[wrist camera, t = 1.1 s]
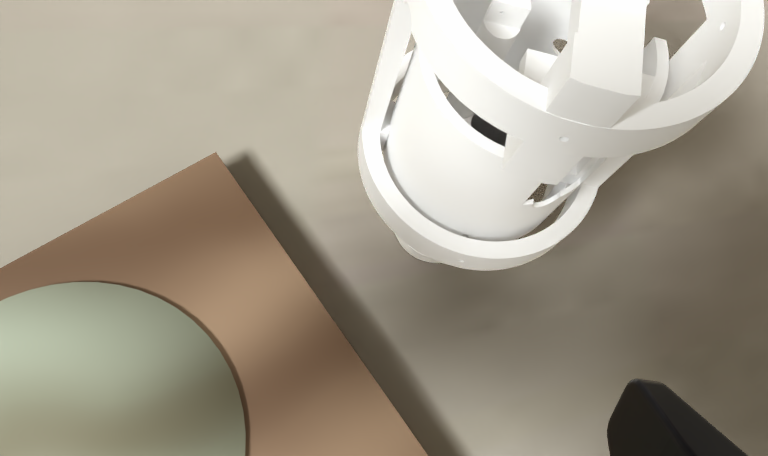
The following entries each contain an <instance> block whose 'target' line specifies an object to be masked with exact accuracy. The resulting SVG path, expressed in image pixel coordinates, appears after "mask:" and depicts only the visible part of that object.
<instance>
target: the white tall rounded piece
mask: <svg viewBox="0 0 768 456" xmlns="http://www.w3.org/2000/svg"><path fill="white" fill-rule="evenodd" d="M649 2H650V0H394V2H393V6H392V10H391V14H390V17H389V21H388V25H387V29H386V33H385V37H384V40H383V44H382V48H381V52H380V56H379V60H378V63H377V67H376V71H375V75H374V79H373V83H372V86H371V90H370V94H369V98H368V102H367V106H366V109H365V113H364V117H363V121H362V125H361V129H360V133H359V139H358V163H359V170H360V175H361V178H362V182H363V185H364V188H365V190H366V193H367V195H368V197H369V199H370V201H371V203H372V205H373V207H374V208H375V210H376V211H377V213H378V214H379V216H380V217H381V218H382V220H383V221H384V222H385V223H386V225H387V226H388V227H389V228H390V229H391V230H392V231H393V232H394V233H395V235H396V237H397V239H398V241H399V243H400V244H401V245H402V247H403V248H404V249H405V250H406V251H407V252H408V253H409V254H411V255H412V256H414V257H416V258H418V259H420V260H422V261H426V262H430V263H444V264H447V265H451V266H454V267H458V268H463V269H470V270H482V271H490V270H502V269H508V268H512V267H516V266H520V265H523V264H525V263H528V262H530V261H533V260H535V259H537V258H538V257H540V256H542V255H543V254H545V253H547V252H548V251H549V250H551V249H552V248H553V247H554V246H555V245H557V244H558V243H559V242H560V241H561V240H562V239H564V238H565V237H566V236H567V235H568V234H569V233H571V232H572V231H573V230H574V229H575V228H576V227H577V226H578V225H579V223H580V222H581V221H582V220H583V218H584V217H585V216H586V214H587V212H588V211H589V209H590V207H591V205H592V203H593V201H594V199H595V196H596V193H597V190H598V187H599V186H600V185H601V184H602V183H604V182H605V181H606V180H607V179H608V178H609V177H610V176H611V175H612V174H613V173H614V172H615V171H617V170H618V169H619V168H620V167H621V166H622V165H623V164H624V163H625V162H626V161H627V160H628V159H630V158H631V157H632V156H633V155H635V154H639V153H643V152H647V151H650V150H653V149H656V148H659V147H661V146H664V145H666V144H668V143H670V142H672V141H674V140H676V139H677V138H679V137H681V136H682V135H684V134H685V133H687V132H688V131H689V130H690V129H692V128H693V127H694V126H695V125H696V124H698V123H699V122H700V121H701V120H702V119H703V118H705V117H706V116H707V115H708V114H709V113H710V112H712V111H713V110H714V109H715V108H716V107H717V106H719V105H720V104H721V103H722V102H723V101H724V100H726V99H727V98H728V97H729V96H730V95H731V94H732V93H733V92H734V91H735V90H736V89H737V88H738V87H739V86H740V85H741V83H742V82H743V81H744V79H745V78H746V76H747V75H748V73H749V72H750V70H751V68H752V66H753V64H754V62H755V60H756V58H757V55H758V52H759V49H760V46H761V42H762V37H763V31H764V1H763V0H702V3H703V6H704V9H705V13H706V18H707V20H706V21H705V22H704V23H703V24H702V25H701V26H700V27H699V28H698V30H697V31H696V32H695V33H694V34H693V35H692V36H691V37H690V38H689V39H688V40H687V41H686V42H685V44H684V45H683V46H682V47H681V48H680V49H679V50H678V51H677V52H676V53H675V54H674V55H673V56H672V58H671V59H670V60H669V53H668V46H667V41H666V40H664V39H660V38H657V37H654V38H653V39H652V40H651V41H650V42H649V43H648V45H647V46H646V47H645V48H644V37H645V21H646V6H647V5H648V4H649ZM411 32H412V34H413V37H414V39H415V41H416V43H415V46H414V49H413V51H411V52H409V53H407V54H406V55H404V54H405V51H406V48H407V45H408V42H409V39H410V35H411ZM556 39H563V40H565V41H567V44H566V46H565V47H564V49H563V50H562V52H561V53H560V52H559V51H558V50H557V49H556V48H555V46H554V44H553V41H554V40H556ZM445 92H450V93H449V95H448V97H447V99H446V97H445V95H444V94H443V93H445ZM397 96H398V97H397ZM396 97H397V100H396V103H395V102H394V101H393V100H394V99H395V98H396ZM382 151H383V155H382ZM383 157H384V159H383ZM541 183H544V184H547V188H546V191H545V193H544V196H543V198H542V200H541V201H540V202H533V201H534V199H530V200H527V199H528V198H529V197H530V196H531V194H532V193H533V192H534V191H535V190H536V189H537V188H538V187H539V185H540V184H541ZM566 198H567V199H566ZM565 199H566V202H565V205H564V207H563V209H562V211H561V213H560V215H559V216H558V218H557V219H556V221H555V222H554V223H553V224H552V225H551V226H549V227H548V228H546V229H544V230H542V231H541V232H538V233H536V234H534V235H531V236H528V237H525V238H522V239H518V238H520V237H522V236H524V235H526V234H528V233H529V232H531V231H532V230H534V229H535V228H536V227H537V226H538V225H540V224H541V223H542V222H543V221H544V220H545V219H546V218H547V217H548V216H549V215H550V214H551V213H552V212H553V211H554V210H555V209H556V208H557V207H558V206H559V205H560V204H561V203H562V202H563V201H564V200H565ZM515 239H517V240H515Z"/></svg>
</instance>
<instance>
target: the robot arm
mask: <svg viewBox="0 0 768 456" xmlns="http://www.w3.org/2000/svg"><path fill="white" fill-rule="evenodd" d="M607 438H608V445H609V451H610V456H748V455H746V454H745V453H744V452H743V451H742V450H740V449H739V448H738V447H737V446H736V445H735V444H733V443H732V442H731V441H730V440H729V439H728V438H726V437H725V436H724V435H723V434H722V433H721V432H719V431H718V430H717V429H716V428H715V427H714V426H712V425H711V424H710V423H709V422H708V421H707V420H705V419H704V418H703V417H702V416H701V415H700V414H698V413H697V412H696V411H695V410H694V409H693V408H691V407H690V406H689V405H688V404H687V403H686V402H684V401H683V400H682V399H681V398H680V397H679V396H677V395H676V394H675V393H674V392H673V391H672V390H670V389H669V388H668V387H667V386H666V385H664V384H663V383H661V382H657V381H650V380H643V379H633V380H631V381H630V382H629V383H628V384H627V386H626V387H625V389H624V391H623V393H622V395H621V397H620V399H619V401H618V403H617V405H616V407H615V410H614V412H613V414H612V416H611V418H610V420H609V423H608V429H607Z"/></svg>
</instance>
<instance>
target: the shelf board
mask: <svg viewBox="0 0 768 456" xmlns="http://www.w3.org/2000/svg"><path fill="white" fill-rule="evenodd" d="M0 456H428V455H427V453H426V452H425V450H424V449H423V448H422V446H421V445H420V443H419V442H418V440H417V439H416V438H415V436H414V435H413V433H412V432H411V430H410V429H409V428H408V426H407V425H406V423H405V422H404V420H403V419H402V418H401V416H400V415H399V413H398V412H397V410H396V409H395V408H394V406H393V405H392V403H391V402H390V400H389V399H388V398H387V396H386V395H385V393H384V392H383V390H382V389H381V388H380V386H379V385H378V383H377V382H376V380H375V379H374V378H373V376H372V375H371V373H370V372H369V370H368V369H367V368H366V366H365V365H364V363H363V362H362V360H361V359H360V358H359V356H358V355H357V353H356V352H355V350H354V349H353V348H352V346H351V345H350V343H349V342H348V340H347V339H346V338H345V336H344V335H343V333H342V332H341V330H340V329H339V328H338V326H337V325H336V323H335V322H334V320H333V319H332V318H331V316H330V315H329V313H328V312H327V310H326V309H325V308H324V306H323V305H322V303H321V302H320V300H319V299H318V298H317V296H316V295H315V293H314V292H313V290H312V289H311V288H310V286H309V285H308V283H307V282H306V280H305V279H304V277H303V276H302V275H301V273H300V272H299V270H298V269H297V267H296V266H295V265H294V263H293V262H292V260H291V259H290V257H289V256H288V255H287V253H286V252H285V250H284V249H283V247H282V246H281V245H280V243H279V242H278V240H277V239H276V237H275V236H274V235H273V233H272V232H271V230H270V229H269V227H268V226H267V225H266V223H265V222H264V220H263V219H262V217H261V216H260V215H259V213H258V212H257V210H256V209H255V207H254V206H253V205H252V203H251V202H250V200H249V199H248V197H247V196H246V195H245V193H244V192H243V190H242V189H241V187H240V186H239V185H238V183H237V182H236V180H235V179H234V177H233V176H232V175H231V173H230V172H229V170H228V169H227V167H226V166H225V165H224V163H223V162H222V160H221V159H220V157H219V156H218V155H217V153H216V152H215V153H213V154H212V155H210V156H208V157H206V158H204V159H202V160H200V161H199V162H197V163H195V164H193V165H191V166H189V167H187V168H186V169H184V170H182V171H180V172H178V173H176V174H174V175H173V176H171V177H169V178H167V179H165V180H163V181H161V182H160V183H158V184H156V185H154V186H152V187H150V188H148V189H147V190H145V191H143V192H141V193H139V194H137V195H136V196H134V197H132V198H130V199H128V200H126V201H124V202H123V203H121V204H119V205H117V206H115V207H113V208H111V209H110V210H108V211H106V212H104V213H102V214H100V215H98V216H97V217H95V218H93V219H91V220H89V221H87V222H85V223H84V224H82V225H80V226H78V227H76V228H74V229H72V230H71V231H69V232H67V233H65V234H63V235H61V236H59V237H58V238H56V239H54V240H52V241H50V242H48V243H46V244H45V245H43V246H41V247H39V248H37V249H35V250H33V251H32V252H30V253H28V254H26V255H24V256H22V257H20V258H19V259H17V260H15V261H13V262H11V263H9V264H7V265H6V266H4V267H2V268H0Z"/></svg>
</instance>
